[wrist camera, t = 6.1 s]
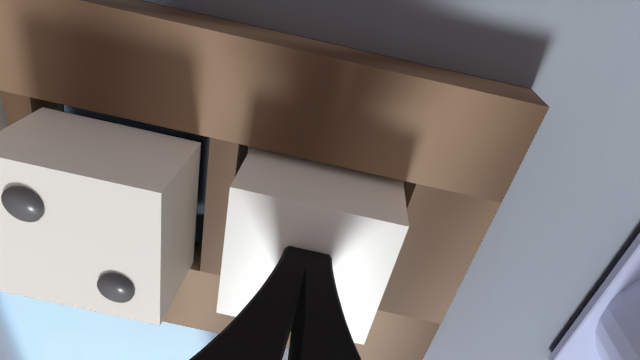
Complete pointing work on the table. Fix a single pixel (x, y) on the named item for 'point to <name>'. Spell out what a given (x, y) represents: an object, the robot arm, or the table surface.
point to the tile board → (287, 131)
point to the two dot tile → (96, 214)
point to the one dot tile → (312, 230)
